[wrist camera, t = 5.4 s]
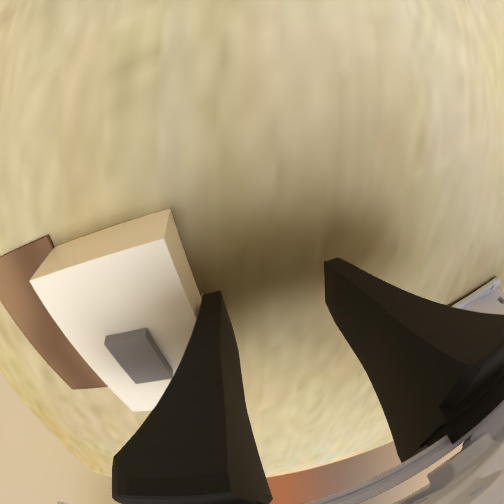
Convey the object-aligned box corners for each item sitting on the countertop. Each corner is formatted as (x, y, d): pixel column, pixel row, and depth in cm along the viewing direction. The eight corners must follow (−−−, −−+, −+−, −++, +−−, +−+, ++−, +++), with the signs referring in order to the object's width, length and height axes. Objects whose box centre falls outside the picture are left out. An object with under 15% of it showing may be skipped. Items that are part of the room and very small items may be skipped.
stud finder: (170, 207, 9) (162, 245, 7) (225, 356, 13) (234, 403, 11) (55, 246, 9) (24, 287, 6) (136, 374, 13) (133, 418, 10)
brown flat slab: (48, 234, 8) (46, 237, 8) (140, 380, 13) (140, 382, 13) (-17, 265, 8) (-19, 267, 8) (73, 387, 12) (72, 389, 12)
